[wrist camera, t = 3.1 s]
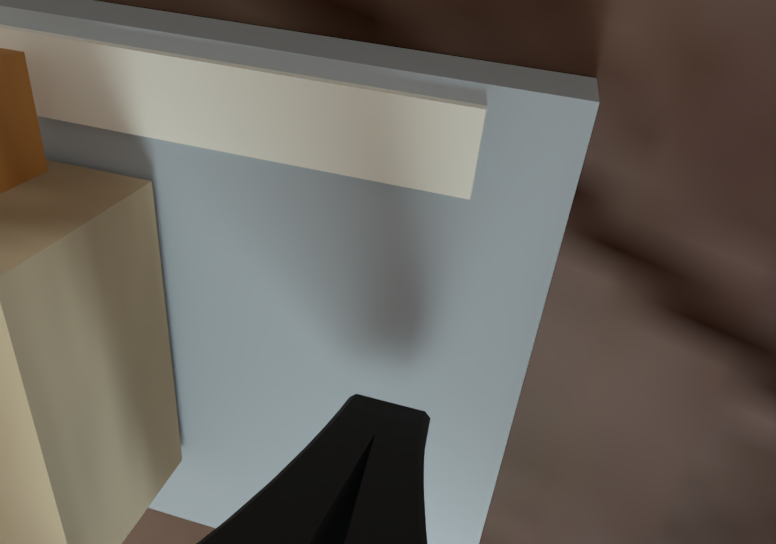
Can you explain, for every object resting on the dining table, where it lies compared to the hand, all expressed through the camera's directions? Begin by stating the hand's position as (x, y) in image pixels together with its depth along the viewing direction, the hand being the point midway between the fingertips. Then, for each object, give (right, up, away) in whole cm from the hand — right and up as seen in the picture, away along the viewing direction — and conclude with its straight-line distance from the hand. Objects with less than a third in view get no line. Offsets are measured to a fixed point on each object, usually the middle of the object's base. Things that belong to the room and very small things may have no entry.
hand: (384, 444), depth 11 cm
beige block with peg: (-6, +3, +2) cm, 7 cm away
